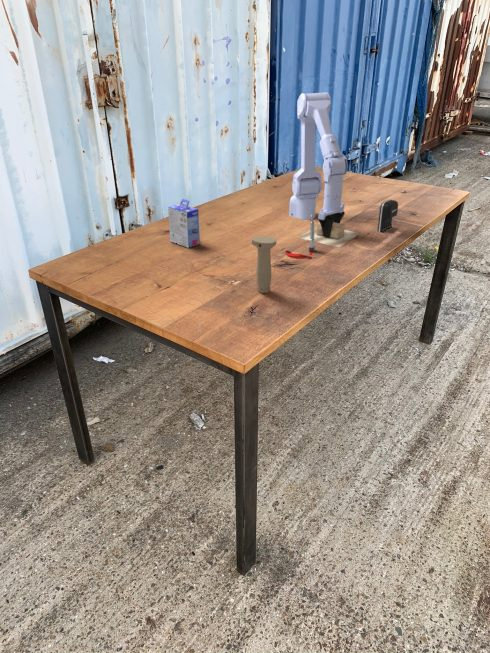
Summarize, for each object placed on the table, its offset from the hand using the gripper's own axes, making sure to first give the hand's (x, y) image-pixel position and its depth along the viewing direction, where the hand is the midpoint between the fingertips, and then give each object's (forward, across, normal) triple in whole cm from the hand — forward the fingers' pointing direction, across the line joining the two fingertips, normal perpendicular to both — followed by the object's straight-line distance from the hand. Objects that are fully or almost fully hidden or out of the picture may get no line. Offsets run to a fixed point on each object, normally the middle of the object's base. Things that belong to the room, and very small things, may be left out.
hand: (329, 234), depth 172 cm
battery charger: (+2, +16, -14) cm, 21 cm away
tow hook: (+2, -17, +1) cm, 17 cm away
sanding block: (0, 0, 0) cm, 0 cm away
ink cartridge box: (+2, -31, +38) cm, 49 cm away
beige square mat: (+2, 0, 0) cm, 2 cm away
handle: (+2, -46, -4) cm, 46 cm away
